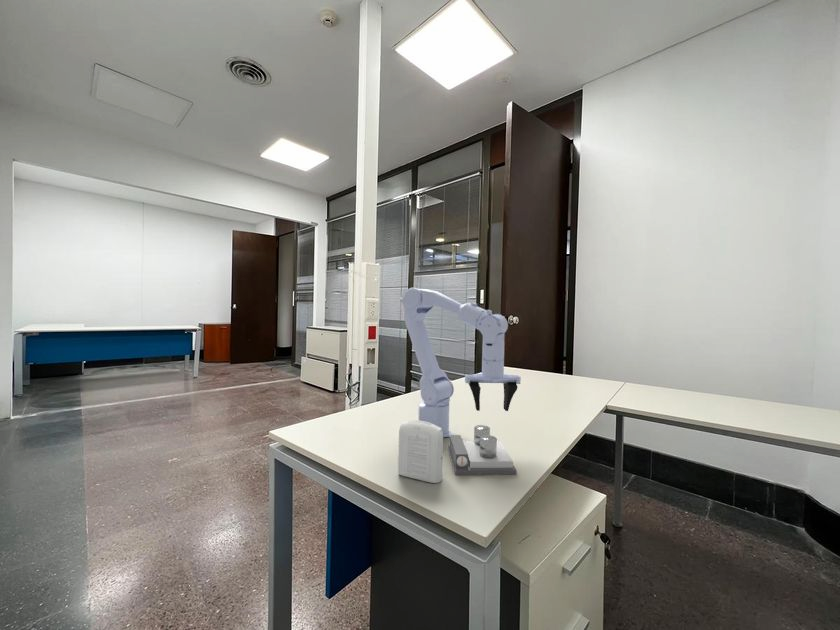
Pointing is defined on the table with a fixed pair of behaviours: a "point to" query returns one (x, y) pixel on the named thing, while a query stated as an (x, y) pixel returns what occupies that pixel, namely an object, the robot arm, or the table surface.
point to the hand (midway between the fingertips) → (491, 409)
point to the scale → (478, 459)
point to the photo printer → (420, 451)
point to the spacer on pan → (480, 433)
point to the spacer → (488, 446)
